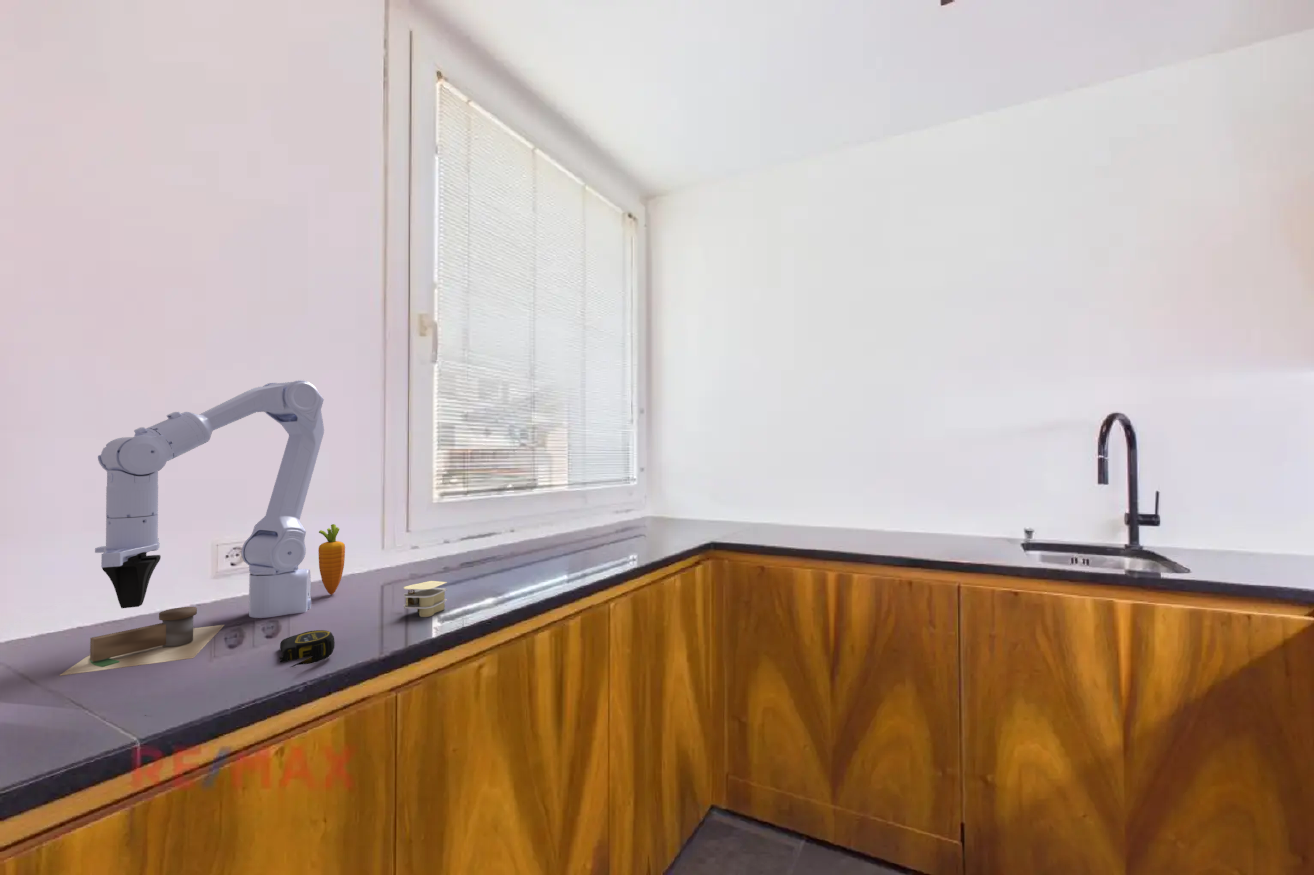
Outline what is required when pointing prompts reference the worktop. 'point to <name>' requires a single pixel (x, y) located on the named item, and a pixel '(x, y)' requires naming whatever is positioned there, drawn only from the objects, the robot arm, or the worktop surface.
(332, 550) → the carrot
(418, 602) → the stacked layers on plate
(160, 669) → the worktop surface
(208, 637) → the dial board
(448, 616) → the worktop surface
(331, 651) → the tape measure
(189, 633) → the dial pointer
